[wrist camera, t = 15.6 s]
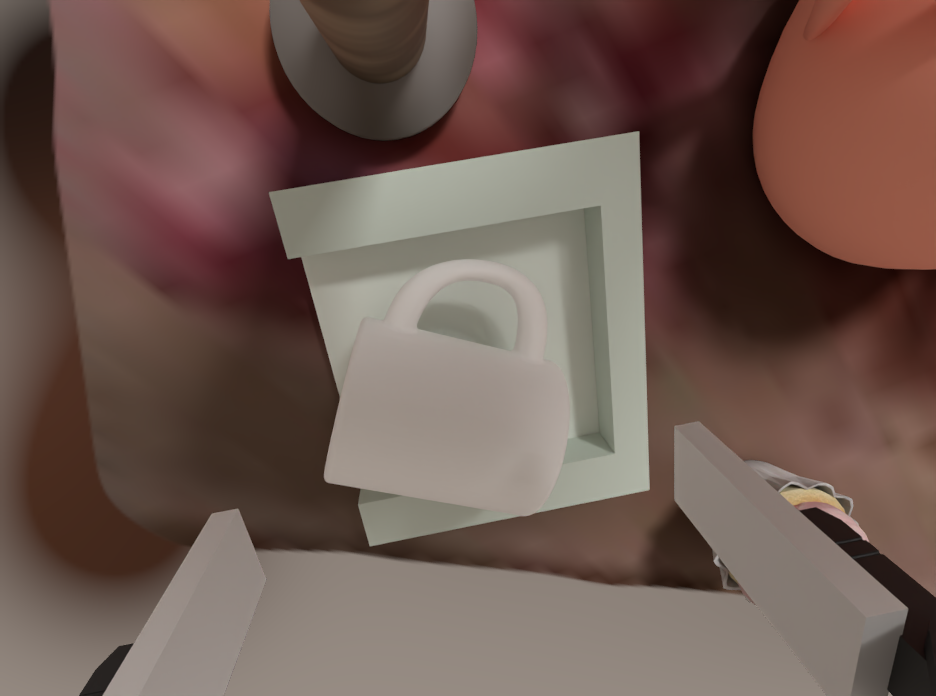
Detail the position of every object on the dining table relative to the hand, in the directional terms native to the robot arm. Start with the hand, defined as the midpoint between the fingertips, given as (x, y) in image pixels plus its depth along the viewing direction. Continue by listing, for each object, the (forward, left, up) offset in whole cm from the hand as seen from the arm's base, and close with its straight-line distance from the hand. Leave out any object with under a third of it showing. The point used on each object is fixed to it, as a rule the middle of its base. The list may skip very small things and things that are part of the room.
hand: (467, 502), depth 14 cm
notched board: (-2, 0, -14) cm, 15 cm away
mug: (0, 0, -14) cm, 14 cm away
